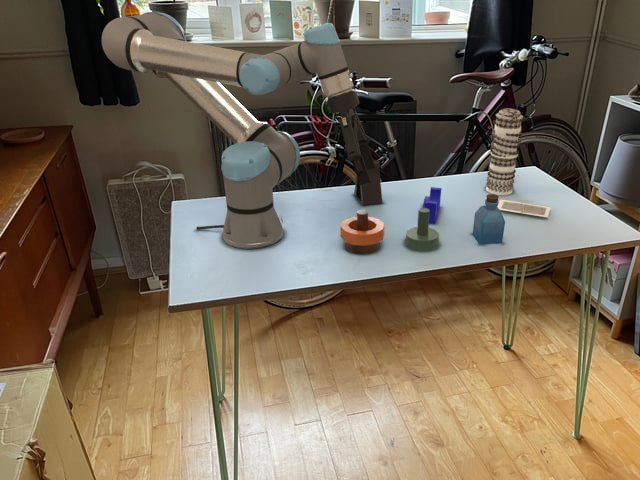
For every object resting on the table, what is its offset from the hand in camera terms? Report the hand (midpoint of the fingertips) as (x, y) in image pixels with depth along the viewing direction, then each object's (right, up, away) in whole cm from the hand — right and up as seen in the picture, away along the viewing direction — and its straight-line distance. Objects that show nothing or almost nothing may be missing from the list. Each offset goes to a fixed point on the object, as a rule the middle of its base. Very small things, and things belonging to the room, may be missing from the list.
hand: (368, 176), depth 149 cm
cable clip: (+17, -8, +19) cm, 26 cm away
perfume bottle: (+31, -16, +6) cm, 36 cm away
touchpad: (+45, -6, +22) cm, 50 cm away
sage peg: (+14, -17, +2) cm, 22 cm away
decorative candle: (+41, +2, +36) cm, 55 cm away
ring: (-1, -15, -1) cm, 15 cm away
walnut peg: (-2, -18, 0) cm, 18 cm away
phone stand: (-1, -2, +27) cm, 27 cm away
